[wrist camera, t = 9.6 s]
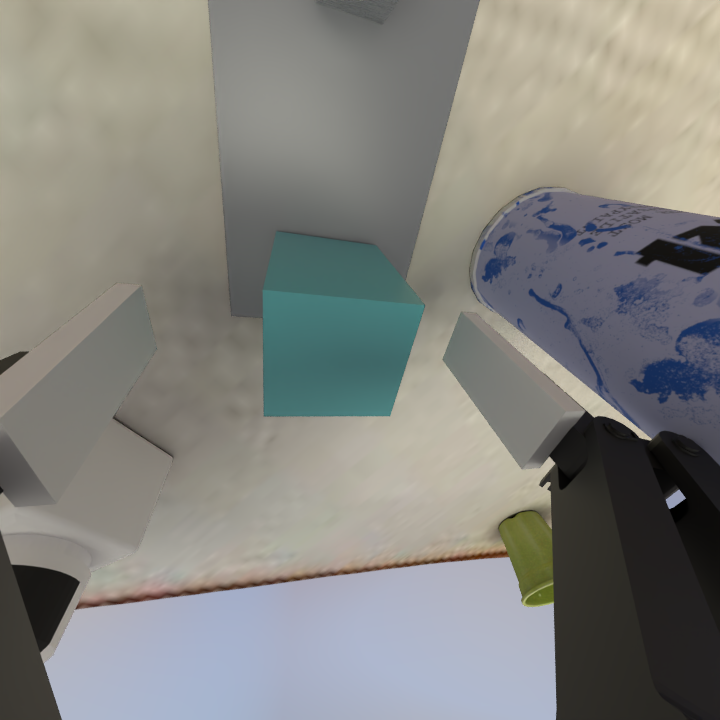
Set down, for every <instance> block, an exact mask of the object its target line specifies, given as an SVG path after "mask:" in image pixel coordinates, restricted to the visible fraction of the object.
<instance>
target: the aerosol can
mask: <svg viewBox="0 0 720 720" xmlns="http://www.w3.org/2000/svg"><path fill="white" fill-rule="evenodd" d="M470 280H471V288H472V290H473V292H474V294H475V295H476V297H477V299H478V301H479V302H480V303H482V304H483V305H484V306H486V307H487V308H488V309H490V310H491V311H492V312H496V313H499V314H500V315H501V316H502V317H504V318H505V319H506V320H507V321H508V322H510V323H511V324H512V325H513V326H515V327H516V328H517V329H518V330H519V331H521V332H522V333H523V334H524V335H526V336H527V337H528V338H529V339H530V340H532V341H533V342H534V343H535V344H537V345H538V346H539V347H540V348H541V349H543V350H544V351H545V352H546V353H548V354H549V355H550V356H551V357H552V358H554V359H555V360H556V361H557V362H559V363H560V364H561V365H562V366H563V367H565V368H566V369H567V370H568V371H570V372H571V373H572V374H573V375H574V376H576V377H577V378H578V379H579V380H581V381H582V382H583V383H584V384H586V385H587V386H588V387H589V388H590V389H592V390H593V391H594V392H595V393H597V394H598V395H599V396H600V397H601V398H603V399H604V400H605V401H606V402H608V403H609V404H610V405H611V406H612V407H614V408H615V409H616V410H617V411H619V412H620V413H621V414H622V415H623V416H625V417H626V418H627V419H628V420H630V421H631V422H632V423H633V424H634V425H636V426H637V427H638V428H639V429H641V430H642V431H643V432H644V433H645V434H647V435H648V436H649V437H650V438H652V439H653V438H654V437H655V436H656V435H657V434H658V433H659V432H660V431H670V432H674V433H676V434H679V435H683V436H685V437H687V438H689V439H691V440H693V441H694V442H695V443H696V444H697V445H699V446H700V447H701V448H703V449H704V450H705V451H706V452H707V453H708V454H709V455H710V456H711V457H712V458H713V459H714V460H715V461H716V462H717V463H718V464H719V466H720V218H719V217H713V216H707V215H701V214H695V213H689V212H683V211H677V210H671V209H665V208H659V207H653V206H647V205H641V204H635V203H629V202H623V201H617V200H610V199H604V198H598V197H592V196H586V195H580V194H578V193H575V192H573V191H571V190H569V189H566V188H563V187H546V188H538V189H535V190H533V191H530V192H528V193H525V194H523V195H520V196H518V197H517V198H516V199H514V200H513V201H512V202H510V203H509V204H508V205H506V206H505V207H504V208H503V209H501V210H500V211H499V212H498V213H497V214H496V216H495V217H494V218H493V219H492V220H491V222H490V223H489V224H488V225H487V227H486V228H485V229H484V230H483V232H482V234H481V236H480V239H479V241H478V243H477V245H476V247H475V249H474V251H473V256H472V261H471V266H470Z"/></svg>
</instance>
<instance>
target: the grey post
mask: <svg viewBox="0 0 720 720" xmlns="http://www.w3.org/2000/svg"><path fill="white" fill-rule="evenodd" d="M398 1H399V0H315V2H316V3H319V4H322V5H325V6H328V7H331V8H334V9H337V10H340V11H343V12H346V13H349V14H352V15H355V16H358V17H361V18H364V19H367V20H370V21H373V22H376V23H379V24H383V23H384V21H385V20H386V18H387V17H388V16H389V14H390V13H391V11H392V10H393V8H394V7H395V6H396V4H397V3H398Z"/></svg>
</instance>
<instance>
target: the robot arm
mask: <svg viewBox="0 0 720 720" xmlns="http://www.w3.org/2000/svg"><path fill="white" fill-rule="evenodd" d="M156 350H157V347H156V343H155V339H154V335H153V330H152V326H151V322H150V318H149V314H148V310H147V305H146V301H145V297H144V293H143V289H142V285H137V284H125V283H116V284H114V285H113V286H112V287H111V288H109V289H108V290H107V291H106V292H104V293H103V294H102V295H101V296H99V297H98V298H97V299H96V300H94V301H93V302H92V303H91V304H89V305H88V306H87V307H85V308H84V309H83V310H82V311H80V312H79V313H78V314H77V315H75V316H74V317H73V318H72V319H70V320H69V321H68V322H67V323H65V324H64V325H63V326H62V327H60V328H59V329H58V330H57V331H55V332H54V333H53V334H51V335H50V336H49V337H48V338H46V339H45V340H44V341H43V342H41V343H40V344H39V345H38V346H36V347H35V348H34V349H33V350H31V351H30V352H18V353H16V354H14V355H11V356H9V357H7V358H5V359H2V360H0V495H1V493H2V492H3V494H4V495H5V496H6V497H7V498H8V499H9V501H10V502H11V503H12V504H13V505H14V507H25V506H39V505H52V504H57V503H58V501H59V500H60V498H61V497H62V495H63V494H64V492H65V490H66V489H67V487H68V486H69V484H70V483H71V481H72V480H73V478H74V477H75V475H76V473H77V472H78V470H79V469H80V467H81V466H82V464H83V463H84V461H85V460H86V458H87V456H88V455H89V453H90V452H91V450H92V449H93V447H94V446H95V444H96V443H97V441H98V440H99V438H100V436H101V435H102V433H103V432H104V430H105V429H106V427H107V426H108V424H109V423H110V421H111V419H112V418H113V416H114V415H115V413H116V412H117V410H118V409H119V407H120V406H121V404H122V402H123V401H124V399H125V398H126V396H127V395H128V393H129V392H130V390H131V389H132V387H133V385H134V384H135V382H136V381H137V379H138V378H139V376H140V375H141V373H142V372H143V370H144V369H145V367H146V365H147V364H148V362H149V361H150V359H151V358H152V356H153V355H154V353H155V352H156ZM442 360H443V361H444V362H445V364H446V365H447V366H448V368H449V369H450V371H451V372H452V373H453V375H454V376H455V377H456V379H457V380H458V382H459V383H460V384H461V386H462V387H463V389H464V390H465V391H466V393H467V394H468V395H469V397H470V398H471V400H472V401H473V402H474V404H475V405H476V407H477V408H478V409H479V411H480V412H481V413H482V415H483V416H484V418H485V419H486V420H487V422H488V423H489V425H490V426H491V427H492V429H493V430H494V431H495V433H496V434H497V436H498V437H499V438H500V440H501V441H502V443H503V444H504V445H505V447H506V448H507V449H508V451H509V452H510V454H511V455H512V456H513V458H514V459H515V461H516V462H517V463H518V465H519V466H520V467H521V469H532V468H540V467H541V466H542V465H543V463H544V462H545V461H546V460H547V458H548V457H549V456H550V457H551V459H552V460H553V461H554V462H555V463H556V464H555V465H554V466H553V467H552V468H551V470H550V471H549V472H548V473H547V474H546V475H545V477H544V478H543V479H542V480H541V482H540V484H539V486H541V487H543V486H544V485H545V484H546V483H547V482H551V485H550V486H549V488H548V489H547V490H549V491H551V515H552V553H553V590H554V625H555V627H554V628H555V661H556V662H555V664H556V665H555V666H556V700H557V701H556V703H557V712H556V720H720V466H719V464H718V463H717V462H716V461H715V460H714V459H713V458H712V457H711V456H710V455H709V454H708V453H707V452H706V451H705V450H704V449H703V448H701V447H700V446H699V445H697V444H696V443H695V442H694V441H693V440H691V439H689V438H687V437H685V436H683V435H679V434H676V433H674V432H670V431H660V432H659V433H658V434H657V435H656V436H655V437H654V438H653V439H652V440H651V441H649V440H645V439H641V438H639V437H638V436H637V435H636V433H634V432H633V431H632V430H631V429H629V428H628V427H626V426H625V425H623V424H622V423H620V422H618V421H616V420H613V419H610V418H607V417H602V416H597V417H595V418H594V417H593V416H592V415H591V414H589V413H588V412H587V411H586V410H585V409H584V408H583V407H581V406H580V405H579V404H578V403H577V402H576V401H575V400H574V399H572V398H571V397H570V396H569V395H568V394H567V393H566V392H564V391H563V390H562V389H561V388H560V387H559V386H558V385H556V384H555V383H554V382H553V381H552V380H551V379H550V378H549V377H548V376H547V375H545V374H544V373H543V372H541V371H540V370H539V369H538V368H537V367H536V366H535V365H534V364H532V363H531V362H530V361H529V360H528V359H527V358H526V357H525V356H523V355H522V354H521V353H520V352H519V351H518V350H517V349H516V348H514V347H513V346H512V345H511V344H510V343H509V342H508V341H507V340H505V339H504V338H503V337H502V336H501V335H500V334H499V333H498V332H496V331H495V330H494V329H493V328H492V327H491V326H490V325H489V324H487V323H486V322H485V321H484V320H483V319H482V318H481V317H480V316H478V315H477V314H476V313H472V312H461V314H460V316H459V319H458V321H457V324H456V326H455V329H454V331H453V334H452V337H451V339H450V342H449V344H448V347H447V349H446V352H445V354H444V357H443V359H442ZM679 489H680V491H681V492H682V493H683V495H684V496H685V498H686V499H685V500H683V501H682V502H680V503H679V504H678V505H676V506H675V507H674V508H671V509H669V508H668V506H667V503H666V499H667V498H668V497H670V496H671V495H672V494H673V493H675V492H676V491H677V490H679ZM0 720H62V719H61V716H60V713H59V710H58V706H57V704H56V700H55V697H54V694H53V691H52V688H51V685H50V682H49V679H48V676H47V673H46V670H45V666H44V663H43V660H42V657H41V654H40V651H39V648H38V645H37V642H36V639H35V636H34V633H33V630H32V626H31V623H30V620H29V617H28V614H27V611H26V608H25V605H24V602H23V599H22V596H21V593H20V589H19V586H18V583H17V580H16V577H15V574H14V571H13V568H12V565H11V562H10V559H9V556H8V553H7V549H6V546H5V543H4V540H3V537H2V534H1V531H0Z"/></svg>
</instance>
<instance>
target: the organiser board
mask: <svg viewBox="0 0 720 720" xmlns="http://www.w3.org/2000/svg"><path fill="white" fill-rule="evenodd" d="M479 1H480V0H399V1H398V3H397V4H396V6H395V7H394V8H393V10H392V11H391V13H390V14H389V16H388V17H387V18H386V20H385V21H384V23H383V24H379V23H376V22H373V21H370V20H367V19H364V18H361V17H358V16H355V15H352V14H349V13H346V12H343V11H340V10H337V9H334V8H331V7H328V6H325V5H322V4H319V3H316V2H315V0H208V6H209V20H210V33H211V47H212V61H213V74H214V88H215V102H216V115H217V129H218V143H219V156H220V170H221V183H222V197H223V211H224V224H225V238H226V252H227V265H228V279H229V292H230V306H231V316H239V317H253V318H263V287H264V282H265V278H266V274H267V269H268V265H269V261H270V256H271V252H272V247H273V243H274V239H275V234H276V231H279V232H286V233H293V234H300V235H307V236H314V237H321V238H328V239H335V240H342V241H349V242H356V243H363V244H370V245H376V246H377V247H378V248H379V249H380V251H381V252H382V253H383V254H384V256H385V257H386V258H387V259H388V260H389V262H390V263H391V264H392V265H393V267H394V268H395V269H396V270H397V271H398V273H399V274H400V275H401V276H402V278H403V279H404V280H406V277H407V273H408V269H409V265H410V262H411V258H412V254H413V250H414V246H415V243H416V239H417V235H418V231H419V228H420V224H421V220H422V216H423V212H424V209H425V205H426V201H427V197H428V194H429V190H430V186H431V182H432V178H433V175H434V171H435V167H436V163H437V160H438V156H439V152H440V148H441V145H442V141H443V137H444V133H445V129H446V126H447V122H448V118H449V114H450V111H451V107H452V103H453V99H454V95H455V92H456V88H457V84H458V80H459V77H460V73H461V69H462V65H463V61H464V58H465V54H466V50H467V46H468V43H469V39H470V35H471V31H472V28H473V24H474V20H475V16H476V12H477V9H478V5H479Z"/></svg>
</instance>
